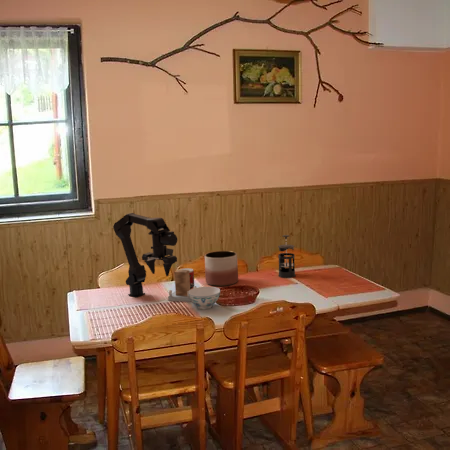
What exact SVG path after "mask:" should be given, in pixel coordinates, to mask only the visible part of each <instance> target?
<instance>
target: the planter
mask: <svg viewBox="0 0 450 450" xmlns="http://www.w3.org/2000/svg"><path fill="white" fill-rule="evenodd" d="M204 274H205V276H204V277H205V282H206V284H208V285H210V286H212V287H226V286H232V285H235V284H236V283H237V282H238V281H239V267H238V253H237V252H235V251H232V250H215V251H209V252H206V253H205V254H204Z"/></svg>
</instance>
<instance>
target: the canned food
mask: <svg viewBox="0 0 450 450" xmlns="http://www.w3.org/2000/svg"><path fill="white" fill-rule="evenodd" d="M179 270H189V277H190V290H191V289H193V288H194V286H195V272H194V269H193V268H188V267H187V268H180V269H179Z"/></svg>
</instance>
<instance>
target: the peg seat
mask: <svg viewBox="0 0 450 450" xmlns="http://www.w3.org/2000/svg"><path fill="white" fill-rule="evenodd" d="M194 288H197V286H195V285H194ZM188 292H189V291H187V296H179V295H176V290H175V291H173V290H172V289H169V290H168V293H169V294H168V296H167V300H168V301H173V302H183V303H184V302H186V303H187V302H189V303H191V302H192V301H191V299H190V297H189V293H188Z"/></svg>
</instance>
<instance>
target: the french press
mask: <svg viewBox="0 0 450 450" xmlns="http://www.w3.org/2000/svg"><path fill="white" fill-rule="evenodd" d="M282 237H283V238H284V239H285V240H287V239H288V238H289V237H290V235H289V234H284V235H282ZM277 248H278V251H279V252H280V253H279V254H277V256H278V277H279V278H282V279H291V278H295V277H296V268H295V266H296V264H295V253H291V252H287V250H289V249H290V250H292V251H294V248H295V245H294V244H287V243H285V244H280V245H278V247H277Z"/></svg>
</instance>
